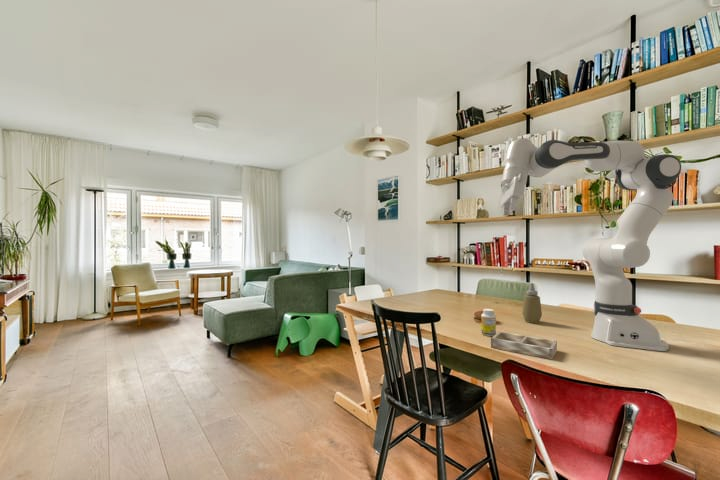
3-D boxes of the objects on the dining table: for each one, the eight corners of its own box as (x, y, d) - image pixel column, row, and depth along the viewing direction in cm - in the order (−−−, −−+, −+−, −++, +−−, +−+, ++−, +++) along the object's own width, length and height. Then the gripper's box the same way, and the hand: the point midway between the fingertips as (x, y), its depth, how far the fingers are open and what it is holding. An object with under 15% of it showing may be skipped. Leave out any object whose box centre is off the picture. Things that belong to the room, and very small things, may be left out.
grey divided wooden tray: (556, 350, 113) (556, 341, 113) (552, 359, 105) (552, 349, 105) (499, 340, 125) (499, 331, 125) (490, 347, 117) (490, 338, 117)
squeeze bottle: (545, 324, 147) (545, 284, 146) (527, 324, 147) (527, 284, 147) (536, 319, 155) (536, 282, 155) (519, 319, 155) (519, 282, 155)
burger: (500, 323, 150) (500, 313, 149) (483, 325, 146) (483, 315, 146) (485, 318, 159) (485, 308, 159) (469, 320, 156) (469, 310, 156)
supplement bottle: (484, 331, 136) (484, 307, 136) (497, 334, 132) (497, 309, 132) (479, 334, 132) (479, 309, 132) (493, 337, 128) (493, 311, 128)
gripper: (531, 170, 116) (525, 208, 114) (515, 188, 135) (510, 219, 134) (513, 168, 117) (507, 205, 116) (499, 185, 137) (494, 217, 135)
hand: (508, 213), depth 125 cm, fingers open, 8 cm apart
